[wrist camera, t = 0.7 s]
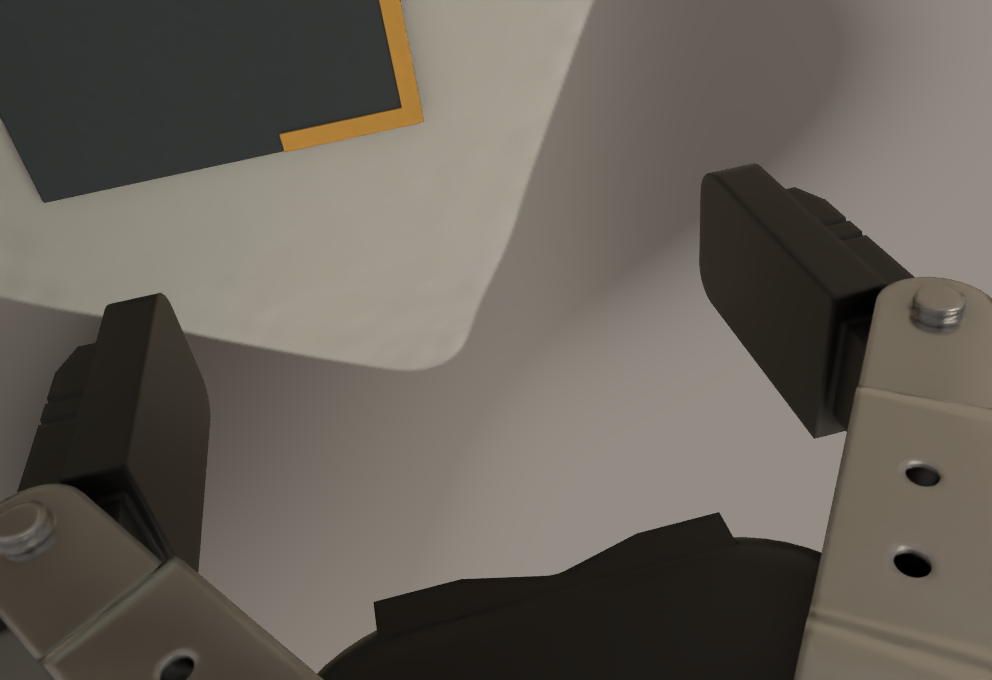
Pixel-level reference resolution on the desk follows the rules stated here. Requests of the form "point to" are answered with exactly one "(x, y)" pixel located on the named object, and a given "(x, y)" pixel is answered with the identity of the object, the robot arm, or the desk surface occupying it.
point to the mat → (193, 83)
